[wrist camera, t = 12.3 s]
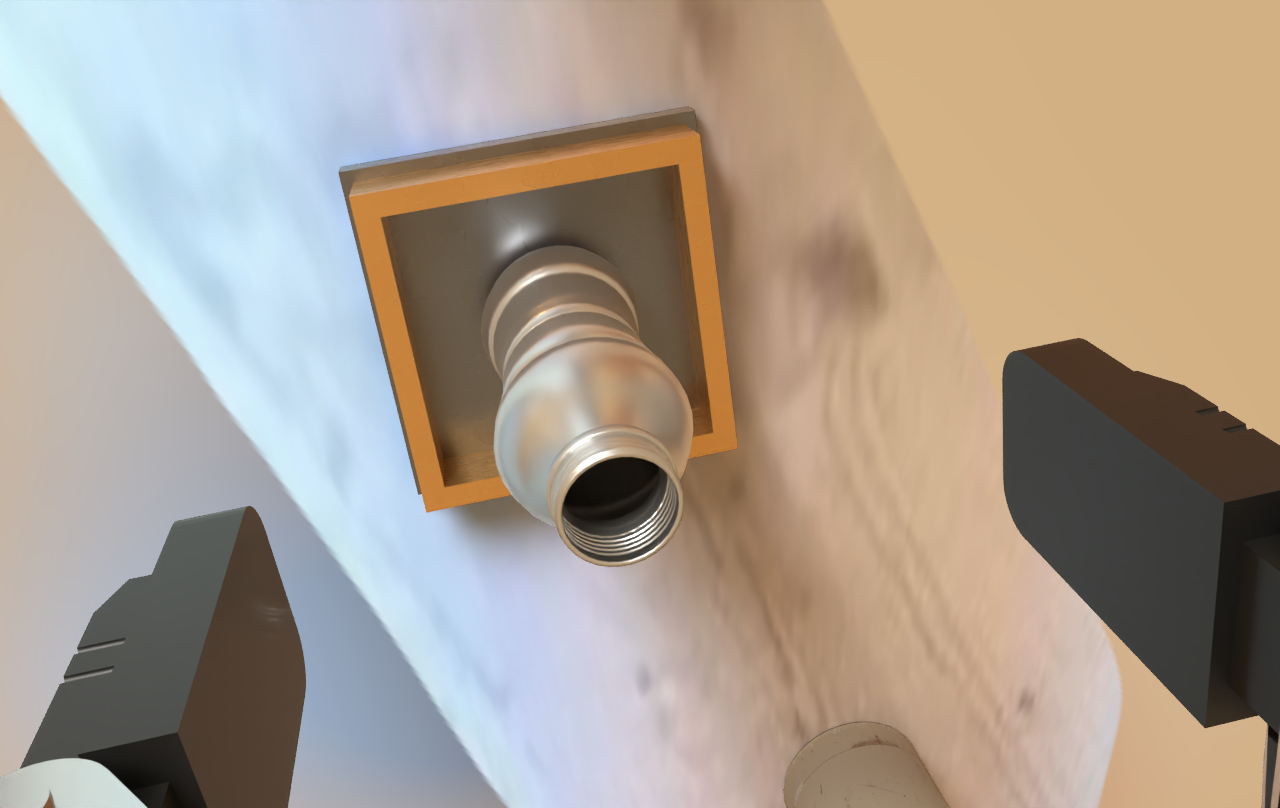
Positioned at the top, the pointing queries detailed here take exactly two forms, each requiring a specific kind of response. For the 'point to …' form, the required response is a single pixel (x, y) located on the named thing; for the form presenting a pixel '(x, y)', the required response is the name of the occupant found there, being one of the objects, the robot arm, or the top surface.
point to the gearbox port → (510, 228)
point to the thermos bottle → (860, 771)
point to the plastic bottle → (585, 407)
